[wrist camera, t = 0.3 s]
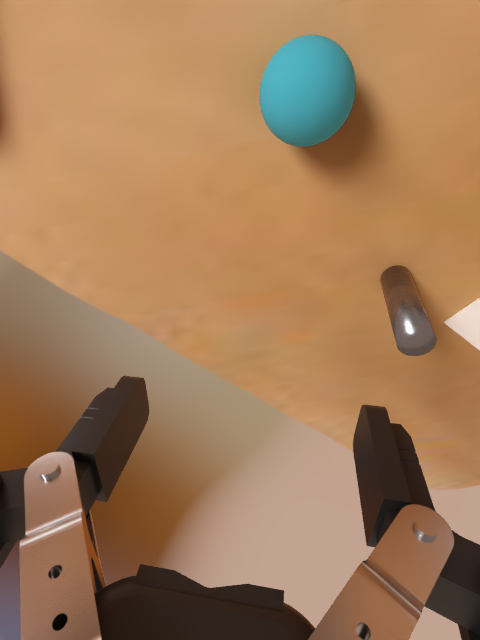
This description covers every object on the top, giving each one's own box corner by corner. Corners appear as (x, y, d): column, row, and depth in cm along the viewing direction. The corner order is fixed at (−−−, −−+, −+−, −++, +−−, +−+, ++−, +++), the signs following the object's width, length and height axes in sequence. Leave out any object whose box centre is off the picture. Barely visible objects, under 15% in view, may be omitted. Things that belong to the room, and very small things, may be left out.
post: (396, 260, 32) (418, 322, 25) (417, 276, 32) (444, 341, 25) (374, 279, 33) (388, 343, 26) (394, 295, 34) (413, 361, 27)
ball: (302, 12, 23) (298, 4, 18) (371, 77, 24) (383, 85, 20) (248, 101, 26) (233, 114, 22) (312, 153, 28) (310, 176, 23)
